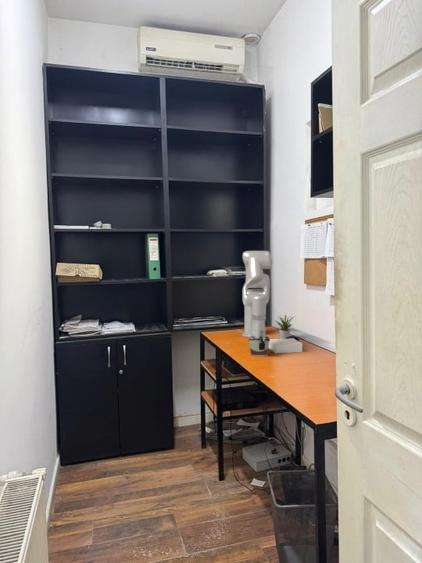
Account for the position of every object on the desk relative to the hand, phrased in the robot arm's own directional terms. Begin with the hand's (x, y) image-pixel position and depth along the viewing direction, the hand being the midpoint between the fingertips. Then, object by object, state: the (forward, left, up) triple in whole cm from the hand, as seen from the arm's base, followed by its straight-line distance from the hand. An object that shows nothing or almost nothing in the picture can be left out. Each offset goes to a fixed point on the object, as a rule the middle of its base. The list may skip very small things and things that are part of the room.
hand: (258, 347), depth 214 cm
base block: (-6, +18, -4) cm, 20 cm away
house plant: (-30, +29, -4) cm, 42 cm away
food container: (0, 0, -4) cm, 4 cm away
